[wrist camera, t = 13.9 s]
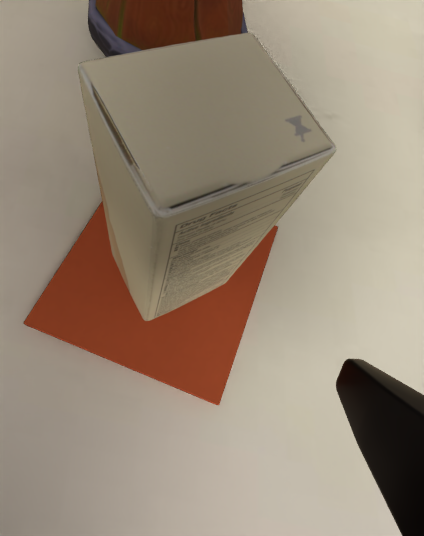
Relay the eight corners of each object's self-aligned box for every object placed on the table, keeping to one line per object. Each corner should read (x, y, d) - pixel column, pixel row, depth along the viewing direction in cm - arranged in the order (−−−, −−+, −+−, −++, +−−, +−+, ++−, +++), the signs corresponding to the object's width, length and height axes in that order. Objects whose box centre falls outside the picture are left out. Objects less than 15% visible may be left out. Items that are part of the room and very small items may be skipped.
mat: (217, 405, 16) (219, 405, 16) (25, 324, 15) (22, 323, 15) (275, 229, 21) (278, 226, 20) (130, 161, 20) (130, 157, 19)
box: (192, 221, 19) (263, 25, 9) (228, 285, 18) (352, 147, 8) (105, 254, 17) (68, 51, 7) (140, 327, 16) (157, 216, 6)
